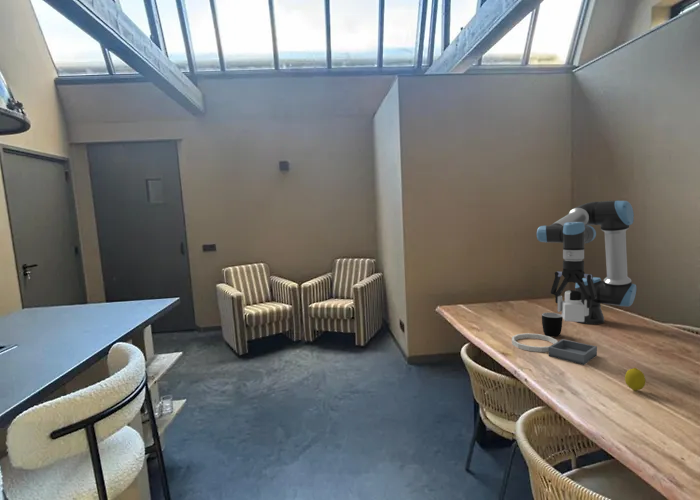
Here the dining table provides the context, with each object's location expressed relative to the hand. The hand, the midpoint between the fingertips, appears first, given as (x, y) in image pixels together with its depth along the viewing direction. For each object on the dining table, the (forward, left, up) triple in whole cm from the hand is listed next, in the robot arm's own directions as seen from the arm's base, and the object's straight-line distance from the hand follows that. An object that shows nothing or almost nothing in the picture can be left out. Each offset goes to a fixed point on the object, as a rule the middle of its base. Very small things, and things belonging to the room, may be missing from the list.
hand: (572, 313), depth 160 cm
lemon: (+18, +26, -19) cm, 37 cm away
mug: (-22, -19, -19) cm, 34 cm away
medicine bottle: (0, 0, -3) cm, 3 cm away
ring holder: (-3, -18, -18) cm, 26 cm away
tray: (0, 0, -18) cm, 18 cm away
